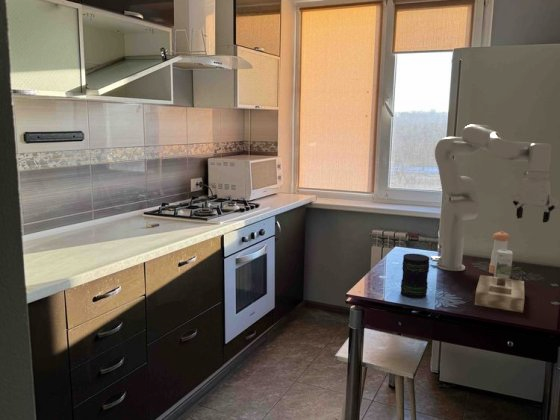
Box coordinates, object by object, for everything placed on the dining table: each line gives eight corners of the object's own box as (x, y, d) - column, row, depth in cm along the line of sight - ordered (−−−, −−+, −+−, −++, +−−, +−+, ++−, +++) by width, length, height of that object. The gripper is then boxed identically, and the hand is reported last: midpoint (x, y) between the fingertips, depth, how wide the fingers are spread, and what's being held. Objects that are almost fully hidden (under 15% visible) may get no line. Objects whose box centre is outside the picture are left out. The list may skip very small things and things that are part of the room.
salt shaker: (488, 273, 225) (493, 231, 222) (488, 269, 232) (493, 228, 229) (506, 275, 223) (511, 233, 220) (506, 271, 229) (510, 230, 226)
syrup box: (507, 283, 211) (511, 249, 209) (509, 287, 206) (513, 253, 204) (493, 281, 213) (496, 248, 211) (494, 285, 208) (497, 251, 205)
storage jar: (422, 300, 187) (425, 261, 184) (396, 295, 192) (399, 257, 189) (429, 293, 195) (433, 256, 193) (405, 288, 200) (407, 252, 198)
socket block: (474, 304, 184) (475, 291, 183) (479, 286, 206) (480, 274, 205) (522, 312, 178) (524, 299, 177) (522, 293, 199) (523, 281, 198)
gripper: (510, 174, 196) (505, 217, 199) (557, 178, 183) (551, 224, 186) (518, 173, 201) (514, 215, 204) (565, 177, 188) (559, 222, 191)
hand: (532, 220), depth 195 cm, fingers open, 9 cm apart
